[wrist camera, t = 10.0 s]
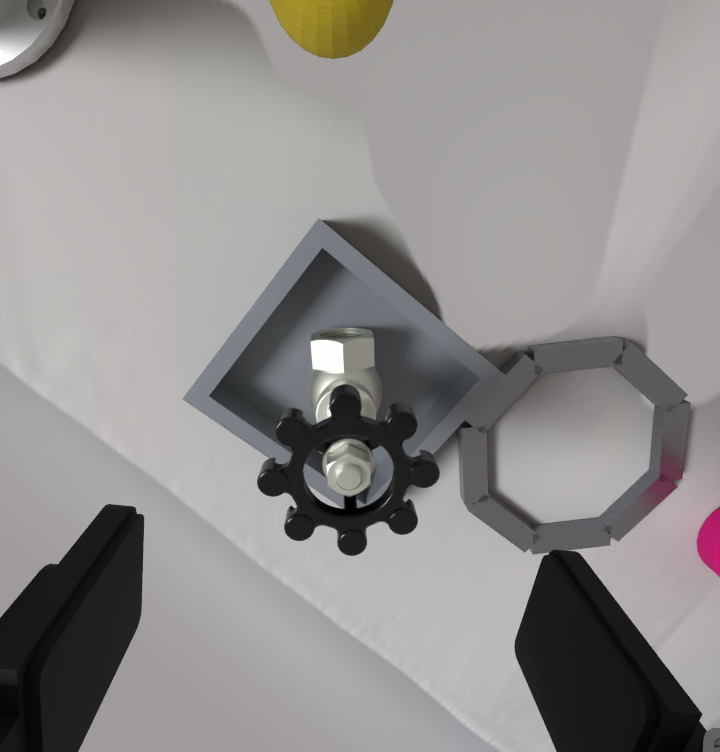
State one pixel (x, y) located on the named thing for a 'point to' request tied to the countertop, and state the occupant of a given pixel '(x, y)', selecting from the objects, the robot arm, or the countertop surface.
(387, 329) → the bin
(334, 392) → the valve
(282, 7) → the lemon
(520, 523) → the segmented octagonal ring
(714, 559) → the pepper mill
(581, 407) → the countertop surface
